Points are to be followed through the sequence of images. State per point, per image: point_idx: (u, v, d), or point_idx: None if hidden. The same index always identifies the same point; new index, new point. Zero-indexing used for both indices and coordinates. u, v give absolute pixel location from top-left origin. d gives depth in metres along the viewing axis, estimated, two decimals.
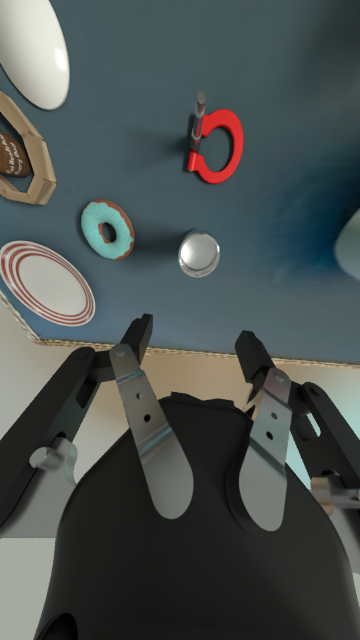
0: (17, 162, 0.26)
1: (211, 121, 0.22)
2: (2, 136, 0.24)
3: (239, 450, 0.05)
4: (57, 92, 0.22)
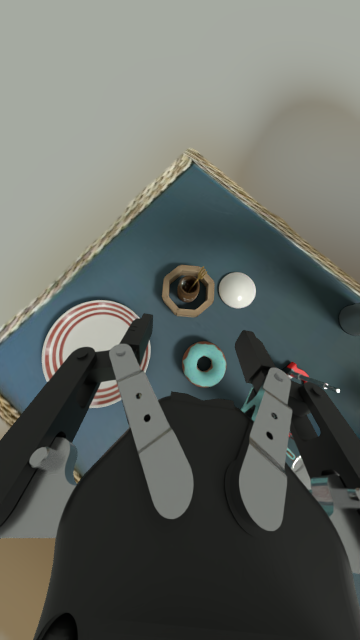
0: (192, 299, 0.37)
1: (298, 371, 0.38)
2: None
3: (239, 450, 0.05)
4: (235, 305, 0.40)
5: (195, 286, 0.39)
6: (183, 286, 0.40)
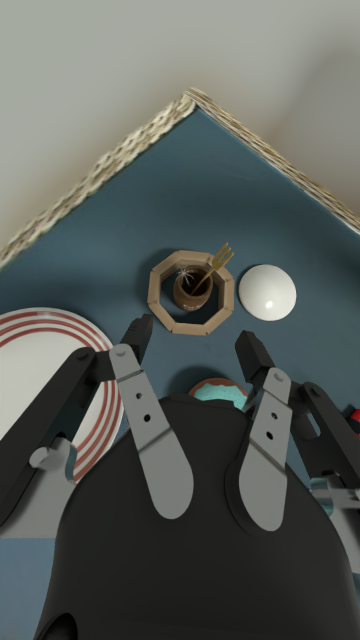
0: (197, 307, 0.22)
1: None
2: None
3: (239, 450, 0.05)
4: (266, 315, 0.25)
5: (202, 285, 0.24)
6: (183, 285, 0.25)
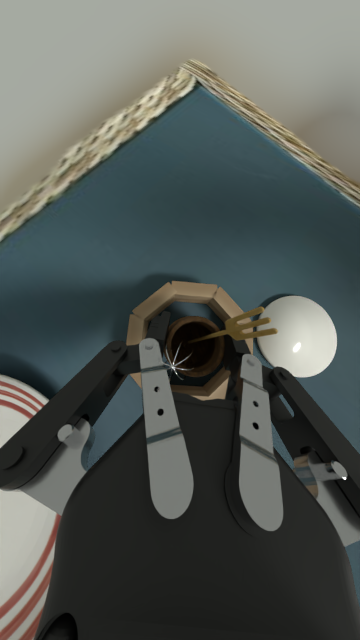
0: None
1: None
2: None
3: (232, 450, 0.05)
4: (296, 370, 0.18)
5: (206, 330, 0.17)
6: (178, 327, 0.18)
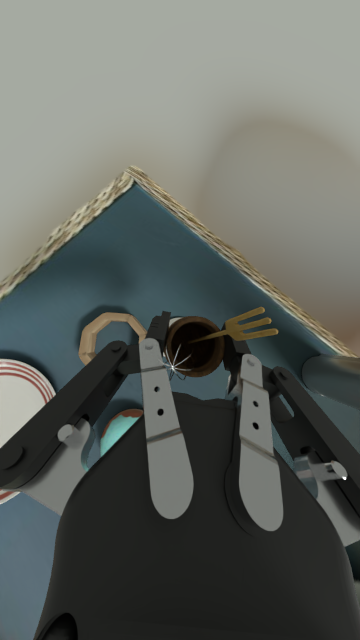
0: None
1: None
2: None
3: (232, 450, 0.05)
4: None
5: (206, 331, 0.17)
6: (178, 327, 0.18)
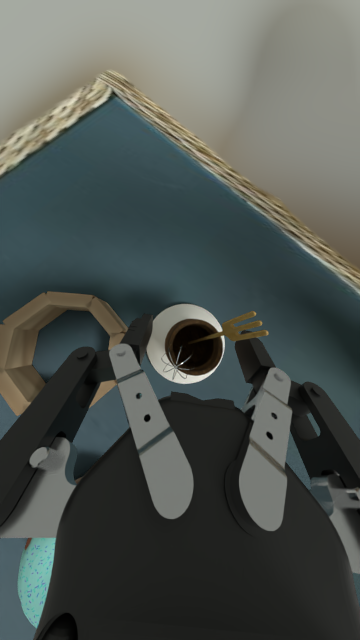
0: None
1: None
2: None
3: (239, 450, 0.05)
4: (180, 377, 0.18)
5: (205, 331, 0.17)
6: None
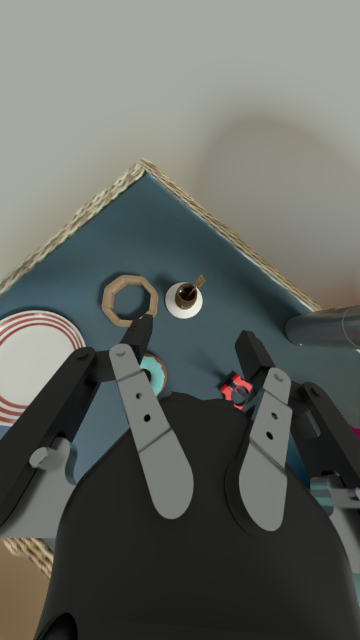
0: (189, 307, 0.37)
1: (242, 383, 0.38)
2: None
3: (239, 450, 0.05)
4: (181, 315, 0.40)
5: (192, 293, 0.39)
6: (180, 293, 0.40)
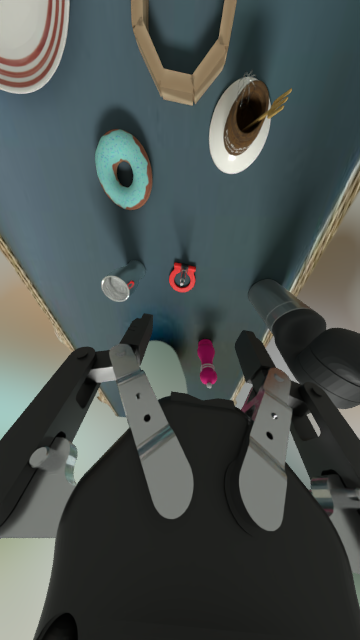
0: (231, 149, 0.25)
1: (191, 275, 0.42)
2: (249, 146, 0.25)
3: (239, 450, 0.05)
4: (215, 151, 0.27)
5: None
6: (246, 112, 0.24)
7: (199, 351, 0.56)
